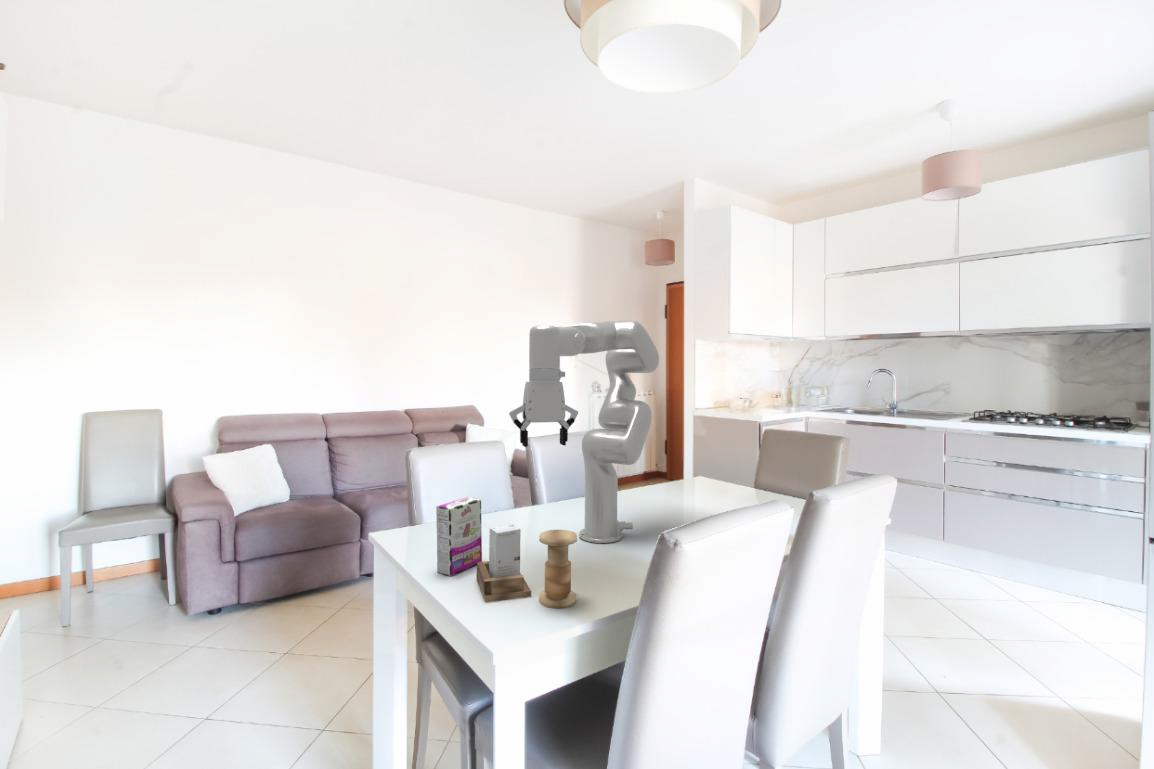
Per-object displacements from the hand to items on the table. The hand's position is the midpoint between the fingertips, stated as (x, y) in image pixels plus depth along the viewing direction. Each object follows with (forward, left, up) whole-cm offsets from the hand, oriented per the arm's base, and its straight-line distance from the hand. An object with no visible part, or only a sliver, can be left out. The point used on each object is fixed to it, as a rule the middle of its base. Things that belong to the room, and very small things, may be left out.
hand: (544, 445), depth 136 cm
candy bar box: (+20, -5, -31) cm, 37 cm away
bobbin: (+2, +20, -30) cm, 36 cm away
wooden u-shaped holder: (+12, +10, -30) cm, 34 cm away
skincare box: (+12, +10, -29) cm, 33 cm away
